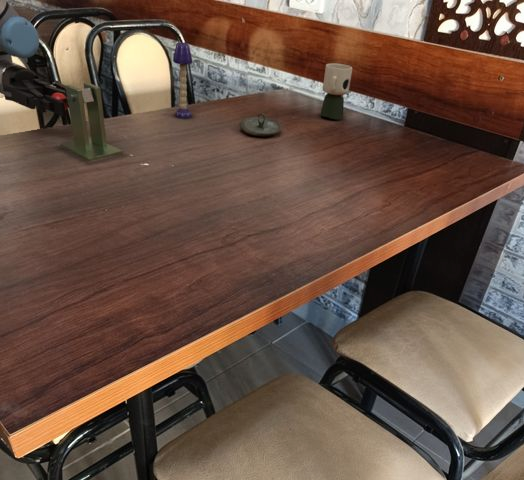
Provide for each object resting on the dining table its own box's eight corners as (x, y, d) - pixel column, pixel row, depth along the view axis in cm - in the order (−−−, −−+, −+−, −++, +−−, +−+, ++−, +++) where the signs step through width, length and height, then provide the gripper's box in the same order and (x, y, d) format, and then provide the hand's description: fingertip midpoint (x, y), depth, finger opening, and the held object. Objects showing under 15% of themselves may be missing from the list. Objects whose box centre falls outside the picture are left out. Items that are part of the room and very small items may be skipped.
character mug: (339, 125, 137) (348, 71, 128) (314, 120, 138) (321, 67, 130) (347, 115, 145) (356, 64, 136) (323, 111, 146) (330, 60, 138)
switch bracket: (60, 148, 107) (49, 82, 99) (93, 142, 112) (85, 77, 104) (89, 164, 102) (79, 95, 94) (123, 156, 106) (116, 90, 98)
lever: (50, 113, 108) (44, 94, 106) (66, 111, 110) (60, 92, 109) (82, 106, 99) (76, 86, 97) (98, 104, 101) (92, 84, 99)
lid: (272, 132, 132) (271, 111, 130) (289, 133, 124) (288, 111, 122) (234, 136, 129) (232, 114, 126) (249, 138, 120) (247, 115, 118)
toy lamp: (196, 117, 132) (196, 44, 121) (184, 120, 129) (182, 45, 118) (183, 113, 134) (181, 40, 123) (170, 116, 131) (167, 42, 120)
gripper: (54, 96, 123) (110, 121, 112) (-15, 105, 113) (38, 133, 102) (48, 61, 118) (106, 84, 107) (-24, 68, 109) (30, 93, 97)
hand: (73, 108), depth 104 cm, fingers closed on lever, 4 cm apart
